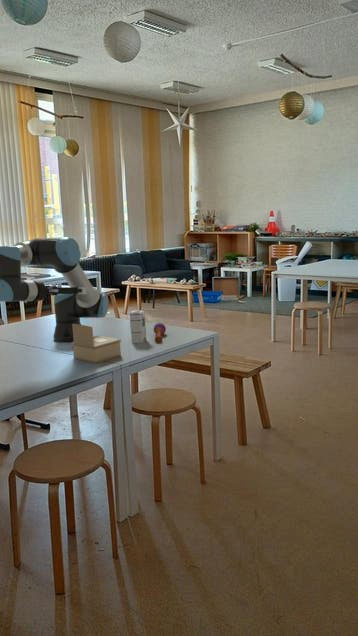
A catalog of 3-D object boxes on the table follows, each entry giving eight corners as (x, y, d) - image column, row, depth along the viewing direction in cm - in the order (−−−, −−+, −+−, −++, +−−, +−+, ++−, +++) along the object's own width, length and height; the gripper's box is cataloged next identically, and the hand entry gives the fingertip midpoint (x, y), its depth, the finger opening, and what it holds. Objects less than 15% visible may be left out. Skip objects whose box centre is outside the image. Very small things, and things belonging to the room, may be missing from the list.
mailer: (73, 358, 241) (72, 344, 240) (98, 351, 252) (97, 338, 251) (95, 363, 232) (94, 349, 231) (120, 355, 243) (119, 342, 241)
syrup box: (143, 343, 264) (141, 312, 261) (131, 343, 265) (129, 312, 263) (146, 340, 270) (144, 310, 267) (134, 340, 271) (132, 310, 268)
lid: (71, 344, 240) (69, 323, 238) (97, 337, 251) (96, 317, 249) (94, 348, 231) (92, 327, 229) (120, 341, 241) (119, 320, 240)
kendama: (150, 335, 263) (152, 323, 282) (153, 347, 264) (155, 334, 284) (163, 332, 262) (164, 320, 282) (166, 344, 264) (167, 331, 283)
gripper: (9, 301, 217) (51, 300, 235) (55, 301, 203) (96, 300, 221) (9, 281, 217) (51, 282, 234) (55, 279, 203) (96, 280, 220)
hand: (73, 290), depth 227 cm, fingers open, 13 cm apart
